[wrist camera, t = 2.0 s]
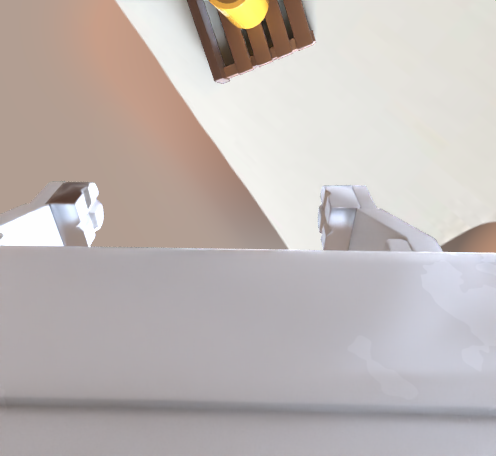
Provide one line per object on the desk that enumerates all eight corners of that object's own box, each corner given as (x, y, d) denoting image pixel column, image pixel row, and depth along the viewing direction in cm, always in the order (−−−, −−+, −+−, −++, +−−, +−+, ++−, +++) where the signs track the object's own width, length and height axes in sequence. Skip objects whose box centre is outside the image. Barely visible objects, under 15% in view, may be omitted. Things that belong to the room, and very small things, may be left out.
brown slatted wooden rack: (281, -78, 40) (277, -95, 37) (316, 45, 43) (315, 39, 40) (184, -28, 44) (172, -39, 40) (222, 84, 46) (213, 81, 43)
